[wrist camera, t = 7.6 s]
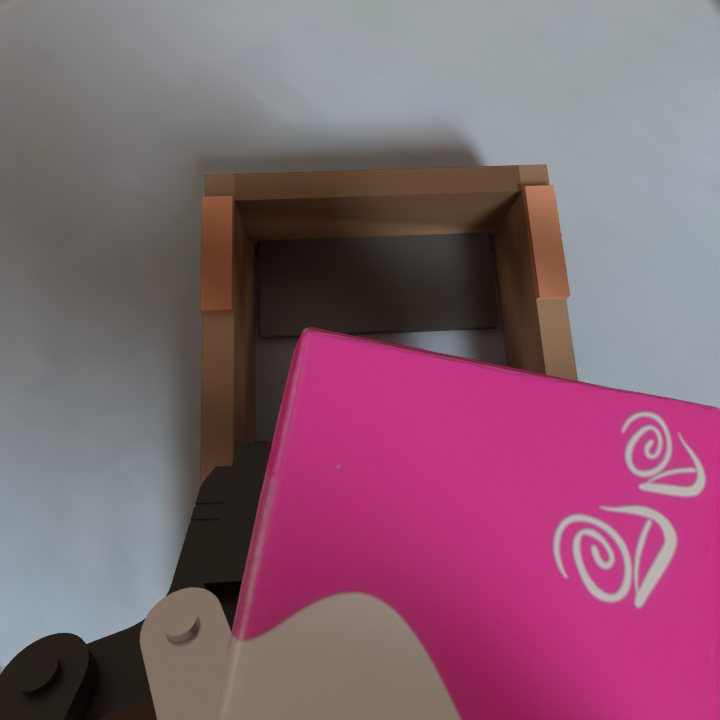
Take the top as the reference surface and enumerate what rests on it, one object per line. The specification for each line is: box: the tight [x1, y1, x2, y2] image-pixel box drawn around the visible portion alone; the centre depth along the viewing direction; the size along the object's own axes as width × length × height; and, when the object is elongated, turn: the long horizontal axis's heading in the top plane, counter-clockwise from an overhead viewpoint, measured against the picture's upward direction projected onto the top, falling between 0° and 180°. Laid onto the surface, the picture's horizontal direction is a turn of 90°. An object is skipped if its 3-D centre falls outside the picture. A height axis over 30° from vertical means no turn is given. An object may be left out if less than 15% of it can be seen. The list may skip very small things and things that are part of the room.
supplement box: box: [213, 327, 720, 720], centre depth 11 cm, size 6×6×12 cm
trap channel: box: [200, 164, 578, 487], centre depth 17 cm, size 18×12×4 cm, turn 3°
